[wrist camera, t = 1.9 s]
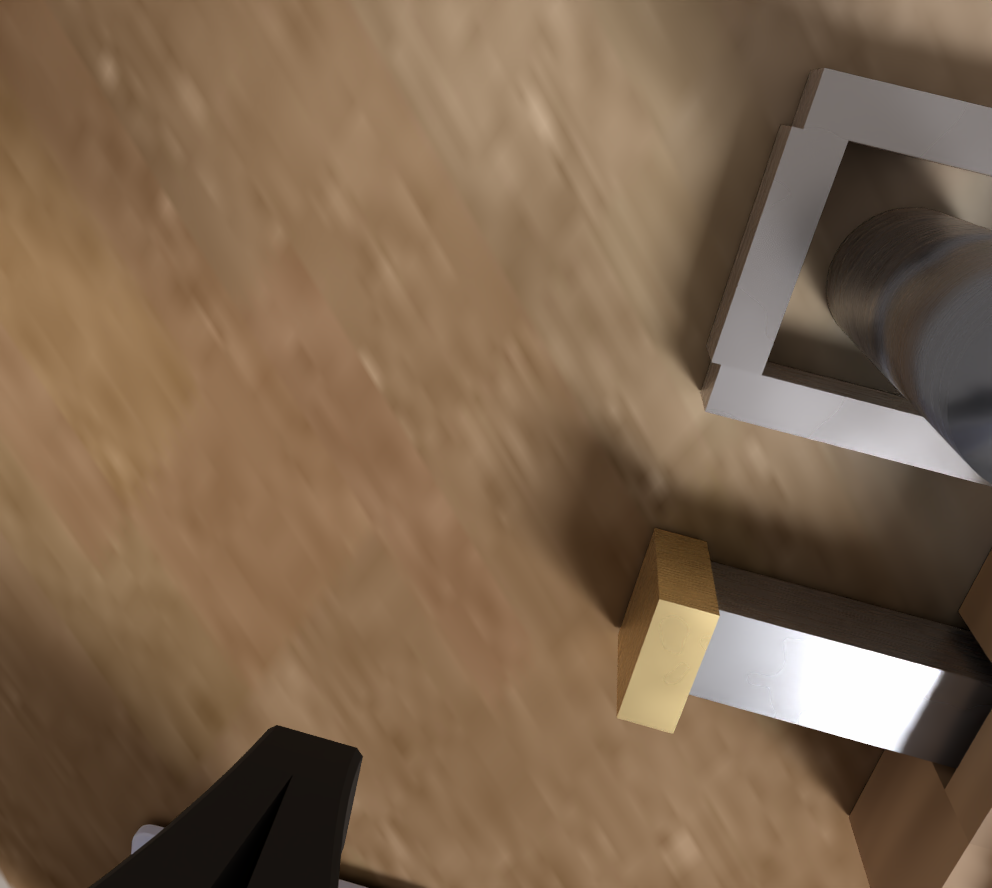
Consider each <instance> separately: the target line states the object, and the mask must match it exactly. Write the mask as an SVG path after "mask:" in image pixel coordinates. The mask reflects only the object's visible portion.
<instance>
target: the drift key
mask: <svg viewBox="0 0 992 888" xmlns="http://www.w3.org/2000/svg"><path fill="white" fill-rule="evenodd" d="M689 694H690V695H693V696H697V697H700V698H704V699H708V700H711V701H715V702H718V703H722V704H726V705H729V706H733V707H736V708H740V709H744V710H747V711H751V712H754V713H758V714H762V715H765V716H769V717H772V718H776V719H780V720H783V721H787V722H790V723H794V724H798V725H801V726H805V727H808V728H812V729H816V730H819V731H823V732H826V733H830V734H834V735H837V736H841V737H844V738H848V739H852V740H855V741H859V742H862V743H866V744H870V745H873V746H877V747H880V748H884V749H888V750H891V751H895V752H898V753H902V754H906V755H909V756H913V757H916V758H920V759H924V760H927V761H931V762H934V763H938V764H942V765H945V766H949V767H952V768H956V769H957V768H958V766H959V764H960V762H961V761H962V759H963V757H964V756H965V754H966V752H967V750H968V749H969V747H970V745H971V744H972V742H973V740H974V738H975V737H976V735H977V733H978V732H979V730H980V728H981V726H982V725H983V723H984V721H985V720H986V718H987V716H988V714H989V713H990V711H991V709H992V663H991V661H990V660H989V658H988V657H987V655H986V654H985V652H984V650H983V649H982V647H981V646H980V644H979V643H978V641H977V640H976V638H975V637H974V635H973V634H972V632H971V631H967V630H963V629H960V628H956V627H952V626H948V625H945V624H941V623H937V622H934V621H930V620H926V619H922V618H919V617H915V616H911V615H908V614H904V613H900V612H897V611H893V610H889V609H885V608H882V607H878V606H874V605H871V604H867V603H863V602H859V601H856V600H852V599H848V598H845V597H841V596H837V595H834V594H830V593H826V592H822V591H819V590H815V589H811V588H808V587H804V586H800V585H797V584H793V583H789V582H785V581H782V580H778V579H774V578H771V577H767V576H763V575H759V574H756V573H752V572H748V571H745V570H741V569H737V568H734V567H730V566H726V565H722V564H719V563H715V562H711V561H710V557H709V552H708V546H707V542H706V541H702V540H698V539H695V538H691V537H687V536H683V535H680V534H676V533H672V532H669V531H665V530H661V529H657V528H655V529H654V532H653V535H652V538H651V541H650V543H649V546H648V549H647V552H646V555H645V558H644V561H643V564H642V567H641V570H640V573H639V576H638V578H637V581H636V584H635V587H634V590H633V593H632V596H631V599H630V602H629V605H628V608H627V611H626V613H625V616H624V619H623V622H622V625H621V628H620V631H619V634H618V676H617V718H619V719H622V720H626V721H630V722H633V723H637V724H640V725H644V726H647V727H651V728H655V729H658V730H662V731H665V732H669V733H672V734H673V733H674V730H675V728H676V725H677V723H678V720H679V718H680V715H681V713H682V710H683V708H684V705H685V703H686V700H687V698H688V695H689Z"/></svg>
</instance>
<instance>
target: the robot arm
mask: <svg viewBox="0 0 992 888" xmlns="http://www.w3.org/2000/svg"><path fill="white" fill-rule="evenodd" d="M362 758H363V756H362V755H361V753H360V752H359V750H358V749H357V748H355V747H352V746H348V745H345V744H341V743H338V742H334V741H331V740H327V739H324V738H320V737H317V736H313V735H310V734H306V733H303V732H299V731H296V730H292V729H289V728H285V727H282V726H278V725H276V726H274V727H272V728H270V729H268V730H267V731H266V732H265V733H264V734H263V736H262V737H261V738H260V739H259V740H258V741H257V742H256V743H255V744H254V745H253V746H252V747H251V748H250V749H249V750H248V751H247V752H246V753H245V754H244V755H243V756H242V757H241V758H240V759H239V760H238V761H237V762H236V763H235V764H234V765H233V766H232V767H231V768H230V769H229V770H228V771H227V772H226V773H225V774H224V775H223V776H222V777H221V778H220V779H219V780H218V781H217V782H216V783H214V784H213V785H212V786H211V787H210V788H209V789H208V790H207V791H206V792H205V793H204V794H203V795H201V796H200V797H199V798H198V799H197V800H196V801H195V802H193V803H192V804H191V805H190V806H189V807H188V808H187V809H186V810H184V811H183V812H182V813H181V814H180V815H179V816H178V817H176V818H175V819H174V820H173V821H172V822H171V823H170V824H169V825H167V826H166V827H165V828H163V827H160V826H157V825H151V824H148V825H143V826H142V827H140V828H139V829H138V831H137V832H136V834H135V835H134V837H133V840H132V850H131V855H130V856H129V857H128V858H127V859H125V860H124V861H123V862H122V863H120V864H119V865H118V866H116V867H115V868H114V869H113V870H111V871H110V872H109V873H108V874H106V875H105V876H104V877H102V878H101V879H100V880H98V881H97V882H95V883H94V884H93V885H91V886H90V887H89V888H368V887H364V886H361V885H357V884H354V883H351V882H347V881H344V880H340V879H339V872H340V859H341V853H342V850H343V847H344V843H345V839H346V834H347V829H348V824H349V820H350V815H351V810H352V805H353V800H354V796H355V791H356V786H357V781H358V777H359V772H360V767H361V762H362Z"/></svg>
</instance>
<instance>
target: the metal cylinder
mask: <svg viewBox="0 0 992 888" xmlns="http://www.w3.org/2000/svg"><path fill="white" fill-rule="evenodd" d="M826 294H827V302H828V306H829V309H830V312H831V314H832V316H833V318H834V320H835V321H836V323H837V325H838V326H839V327H840V328H841V329H842V331H843V332H844V333H845V334H846V335H847V336H848V337H849V338H850V339H851V340H852V341H853V342H854V343H855V345H856V346H857V347H858V348H859V349H860V350H861V351H862V352H863V353H864V354H865V355H866V356H867V357H868V358H869V360H870V361H871V362H872V363H873V364H874V365H875V366H876V367H877V368H878V369H879V370H880V371H881V372H882V373H883V374H884V376H885V377H886V378H887V379H888V380H889V381H890V382H891V383H892V384H893V385H894V386H895V387H896V388H897V389H898V390H899V392H900V393H901V394H902V395H903V396H904V397H905V398H906V399H907V400H908V401H909V402H910V403H911V404H912V405H913V407H914V408H915V409H916V410H917V411H918V412H919V413H920V414H921V415H922V416H923V417H924V418H925V419H926V420H927V421H928V423H929V424H930V425H931V426H932V427H933V428H934V429H935V430H936V431H937V432H938V433H939V434H940V435H941V436H942V438H943V439H944V440H945V441H946V442H947V443H948V444H949V445H950V446H951V447H952V448H953V449H954V450H955V451H956V452H957V454H958V455H959V456H960V457H961V458H962V459H963V460H964V461H965V462H966V463H967V464H968V465H969V466H970V467H971V469H973V470H974V471H975V472H976V473H977V474H978V475H979V476H980V477H982V478H983V479H984V480H986V481H987V482H989V483H991V484H992V230H989V229H986V228H983V227H981V226H978V225H975V224H972V223H969V222H967V221H964V220H961V219H958V218H955V217H952V216H950V215H947V214H944V213H941V212H938V211H935V210H932V209H926V208H916V207H909V208H900V209H895V210H891V211H888V212H885V213H882V214H879V215H877V216H875V217H873V218H871V219H869V220H868V221H866V222H865V223H863V224H862V225H860V226H859V227H858V228H857V229H855V230H854V231H853V232H852V233H851V234H850V235H849V236H848V237H847V238H846V239H845V241H844V242H843V243H842V244H841V246H840V247H839V249H838V251H837V252H836V254H835V256H834V258H833V260H832V262H831V265H830V268H829V272H828V276H827V283H826Z"/></svg>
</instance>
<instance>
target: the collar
mask: <svg viewBox="0 0 992 888" xmlns="http://www.w3.org/2000/svg"><path fill="white" fill-rule="evenodd" d="M848 141H849V142H853V143H857V144H861V145H865V146H869V147H873V148H877V149H882V150H886V151H890V152H894V153H898V154H902V155H906V156H910V157H914V158H918V159H922V160H927V161H931V162H935V163H939V164H943V165H947V166H951V167H955V168H959V169H963V170H968V171H972V172H976V173H980V174H984V175H988V176H992V108H990V107H985V106H981V105H977V104H973V103H969V102H965V101H961V100H956V99H952V98H948V97H944V96H940V95H936V94H931V93H927V92H923V91H919V90H915V89H911V88H907V87H902V86H898V85H894V84H890V83H886V82H882V81H877V80H873V79H869V78H865V77H861V76H857V75H852V74H848V73H844V72H840V71H836V70H832V69H828V68H821V69H815V70H811V71H810V74H809V77H808V79H807V82H806V85H805V88H804V91H803V94H802V97H801V100H800V103H799V106H798V109H797V112H796V114H795V117H794V120H793V123H792V126H785V125H780V128H779V131H778V134H777V137H776V140H775V143H774V146H773V149H772V152H771V155H770V158H769V161H768V164H767V167H766V170H765V172H764V175H763V178H762V181H761V184H760V187H759V190H758V193H757V196H756V199H755V202H754V205H753V208H752V211H751V214H750V217H749V220H748V223H747V226H746V229H745V232H744V235H743V238H742V241H741V244H740V247H739V250H738V253H737V256H736V259H735V261H734V264H733V267H732V270H731V273H730V276H729V279H728V282H727V285H726V288H725V291H724V294H723V297H722V300H721V303H720V306H719V309H718V312H717V315H716V318H715V321H714V324H713V327H712V330H711V333H710V336H709V339H708V342H707V345H706V347H707V350H708V354H709V357H710V360H711V363H710V366H709V369H708V372H707V375H706V377H705V380H704V383H703V386H702V389H701V392H700V393H701V397H702V401H703V405H704V409H705V412H709V413H713V414H716V415H720V416H724V417H728V418H732V419H736V420H739V421H743V422H747V423H751V424H755V425H759V426H762V427H766V428H770V429H774V430H778V431H781V432H785V433H789V434H793V435H797V436H801V437H804V438H808V439H812V440H816V441H820V442H824V443H827V444H831V445H835V446H839V447H843V448H846V449H850V450H854V451H858V452H862V453H866V454H869V455H873V456H877V457H881V458H885V459H889V460H892V461H896V462H900V463H904V464H908V465H911V466H915V467H919V468H923V469H927V470H931V471H934V472H938V473H942V474H946V475H950V476H954V477H957V478H961V479H965V480H969V481H973V482H976V483H980V484H984V485H988V486H992V484H991V483H989V482H987V481H986V480H984V479H983V478H982V477H980V476H979V475H978V474H977V473H976V472H975V471H974V470H973V469H971V467H970V466H969V465H968V464H967V463H966V462H965V461H964V460H963V459H962V458H961V457H960V456H959V455H958V454H957V452H956V451H955V450H954V449H953V448H952V447H951V446H950V445H949V444H948V443H947V442H946V441H945V440H944V439H943V438H942V436H941V435H940V434H939V433H938V432H937V431H936V430H935V429H934V428H933V427H932V426H931V425H930V424H929V423H928V421H927V420H926V419H925V418H924V417H923V416H922V415H921V414H920V413H919V412H918V411H917V410H916V409H915V408H914V407H913V405H912V404H911V403H910V402H909V401H908V400H907V399H906V398H905V397H902V396H899V395H895V394H891V393H887V392H883V391H879V390H875V389H871V388H868V387H864V386H860V385H856V384H852V383H848V382H844V381H840V380H837V379H833V378H829V377H825V376H821V375H817V374H813V373H809V372H806V371H802V370H798V369H794V368H790V367H786V366H782V365H778V364H774V363H771V362H767V360H768V357H769V354H770V351H771V349H772V346H773V343H774V341H775V338H776V335H777V333H778V330H779V327H780V324H781V322H782V319H783V316H784V314H785V311H786V308H787V305H788V303H789V300H790V297H791V295H792V292H793V289H794V287H795V284H796V281H797V278H798V276H799V273H800V270H801V268H802V265H803V262H804V260H805V257H806V254H807V251H808V249H809V246H810V243H811V241H812V238H813V235H814V233H815V230H816V227H817V224H818V222H819V219H820V216H821V214H822V211H823V208H824V206H825V203H826V200H827V197H828V195H829V192H830V189H831V187H832V184H833V181H834V178H835V176H836V173H837V170H838V168H839V165H840V162H841V160H842V157H843V154H844V151H845V149H846V146H847V143H848Z"/></svg>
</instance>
